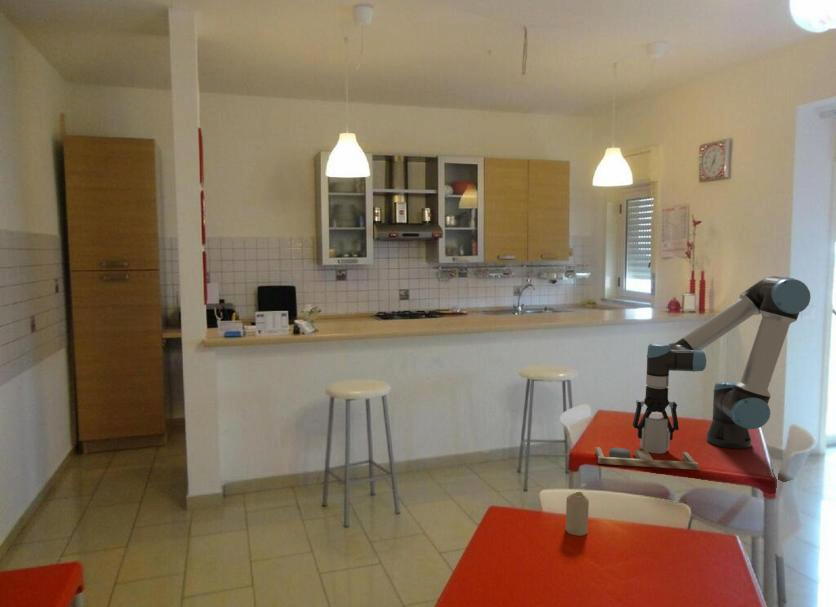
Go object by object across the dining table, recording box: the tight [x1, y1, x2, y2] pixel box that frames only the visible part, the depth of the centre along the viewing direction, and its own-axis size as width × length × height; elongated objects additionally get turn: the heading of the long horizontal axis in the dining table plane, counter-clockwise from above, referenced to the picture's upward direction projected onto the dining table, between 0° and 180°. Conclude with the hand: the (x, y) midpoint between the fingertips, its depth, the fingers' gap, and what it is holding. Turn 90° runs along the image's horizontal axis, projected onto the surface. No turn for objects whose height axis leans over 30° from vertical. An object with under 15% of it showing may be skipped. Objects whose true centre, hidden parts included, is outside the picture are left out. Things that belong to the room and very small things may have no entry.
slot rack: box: [595, 446, 699, 471], centre depth 207 cm, size 32×12×2 cm, turn 81°
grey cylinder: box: [642, 413, 668, 454], centre depth 218 cm, size 8×8×12 cm
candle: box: [565, 491, 590, 537], centre depth 155 cm, size 6×6×10 cm
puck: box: [608, 447, 632, 458], centre depth 209 cm, size 7×7×3 cm
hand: (654, 447), depth 218 cm, fingers closed on grey cylinder, 8 cm apart
